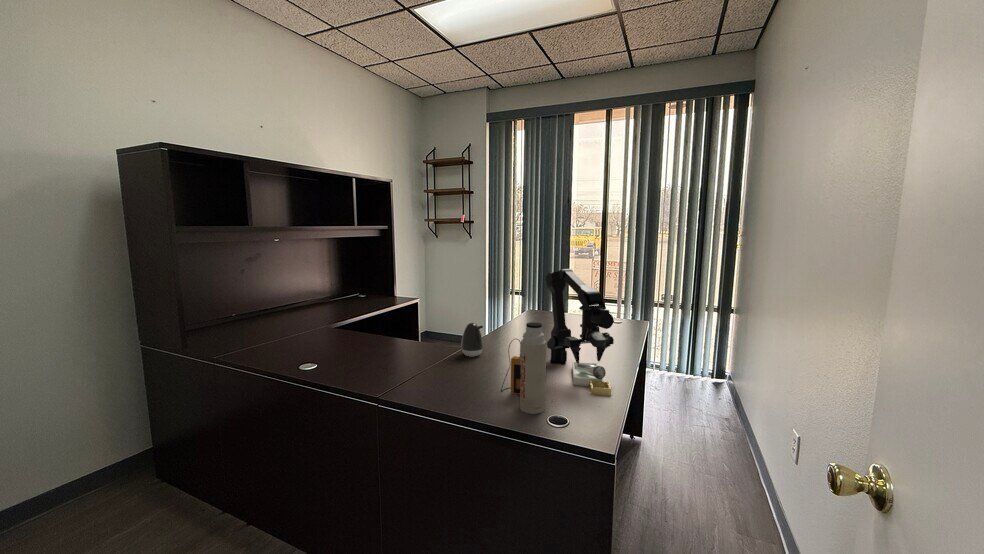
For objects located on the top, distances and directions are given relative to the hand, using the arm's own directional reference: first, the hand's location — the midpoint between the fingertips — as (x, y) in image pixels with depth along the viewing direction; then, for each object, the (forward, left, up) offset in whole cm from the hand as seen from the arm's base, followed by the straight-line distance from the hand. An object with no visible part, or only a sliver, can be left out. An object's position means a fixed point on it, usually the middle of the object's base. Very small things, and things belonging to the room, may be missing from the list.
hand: (588, 362), depth 152 cm
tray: (0, +1, -6) cm, 7 cm away
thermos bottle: (-19, -30, -7) cm, 36 cm away
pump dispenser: (-50, +20, -7) cm, 55 cm away
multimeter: (-23, -16, -7) cm, 29 cm away
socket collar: (+4, -12, -6) cm, 14 cm away
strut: (-2, +4, -4) cm, 6 cm away
